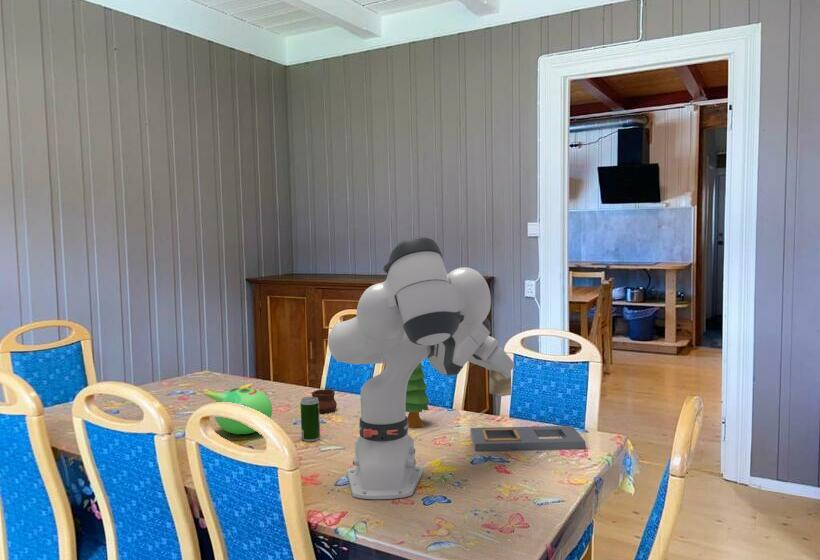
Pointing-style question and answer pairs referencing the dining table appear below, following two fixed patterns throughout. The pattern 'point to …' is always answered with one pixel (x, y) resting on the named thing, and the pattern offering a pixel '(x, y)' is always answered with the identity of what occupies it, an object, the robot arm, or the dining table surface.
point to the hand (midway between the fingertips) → (502, 374)
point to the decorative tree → (416, 397)
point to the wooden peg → (499, 384)
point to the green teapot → (242, 397)
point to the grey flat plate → (526, 438)
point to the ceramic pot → (325, 400)
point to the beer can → (310, 419)
